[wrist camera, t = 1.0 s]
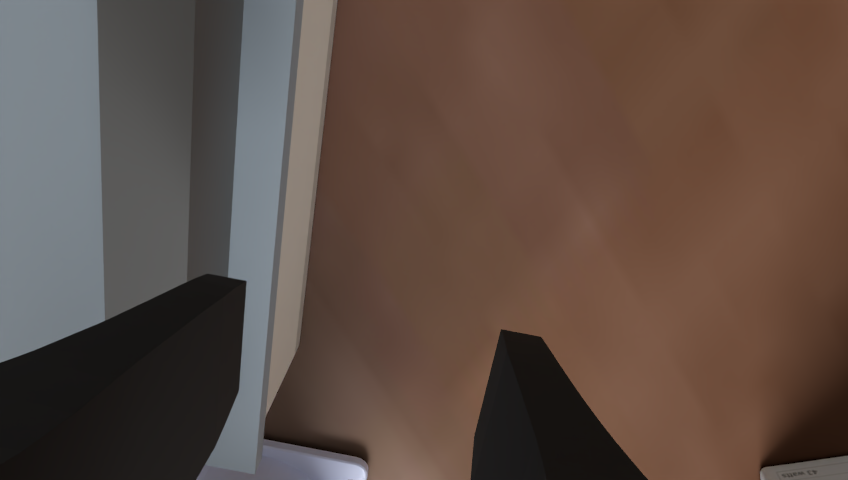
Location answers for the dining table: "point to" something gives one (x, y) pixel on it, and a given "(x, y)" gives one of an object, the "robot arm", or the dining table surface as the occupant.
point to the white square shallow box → (301, 183)
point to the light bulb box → (809, 470)
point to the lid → (145, 169)
